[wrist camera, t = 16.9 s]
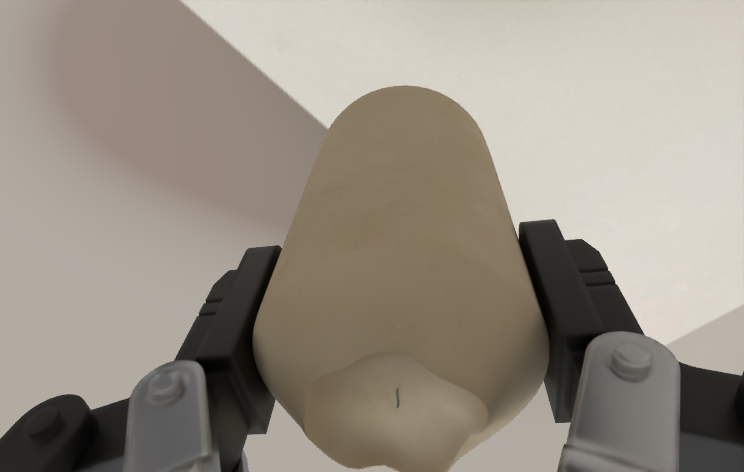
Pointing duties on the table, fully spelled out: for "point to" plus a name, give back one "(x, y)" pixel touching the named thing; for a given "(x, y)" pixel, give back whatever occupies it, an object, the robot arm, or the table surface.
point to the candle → (402, 292)
